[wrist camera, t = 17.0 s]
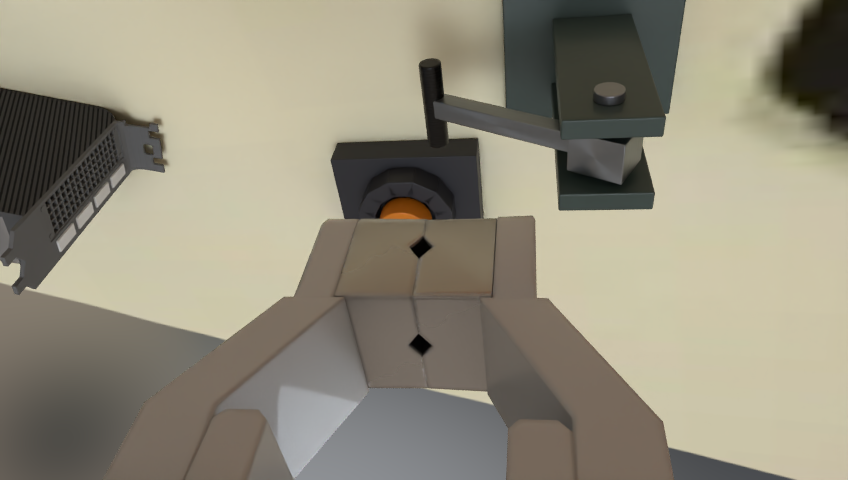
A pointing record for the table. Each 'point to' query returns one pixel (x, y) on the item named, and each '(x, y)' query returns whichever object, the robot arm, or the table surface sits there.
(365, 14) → the table surface
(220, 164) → the table surface
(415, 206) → the button
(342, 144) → the control block
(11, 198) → the graphics card
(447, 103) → the switch lever
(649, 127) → the bracket
